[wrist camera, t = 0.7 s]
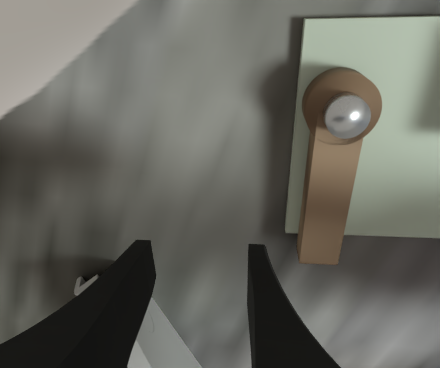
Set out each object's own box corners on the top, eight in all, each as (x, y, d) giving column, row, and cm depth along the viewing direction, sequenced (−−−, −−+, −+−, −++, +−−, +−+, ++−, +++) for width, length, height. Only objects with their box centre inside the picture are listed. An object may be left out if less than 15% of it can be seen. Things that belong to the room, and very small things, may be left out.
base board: (612, 12, 15) (624, 12, 15) (501, 234, 22) (507, 240, 21) (303, 18, 17) (305, 19, 16) (284, 227, 23) (285, 232, 23)
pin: (369, 91, 16) (375, 97, 15) (361, 132, 17) (366, 138, 16) (325, 91, 16) (329, 97, 15) (320, 131, 17) (323, 138, 16)
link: (305, 67, 17) (309, 74, 16) (378, 67, 17) (389, 73, 15) (287, 246, 23) (289, 262, 22) (341, 248, 23) (347, 265, 21)
